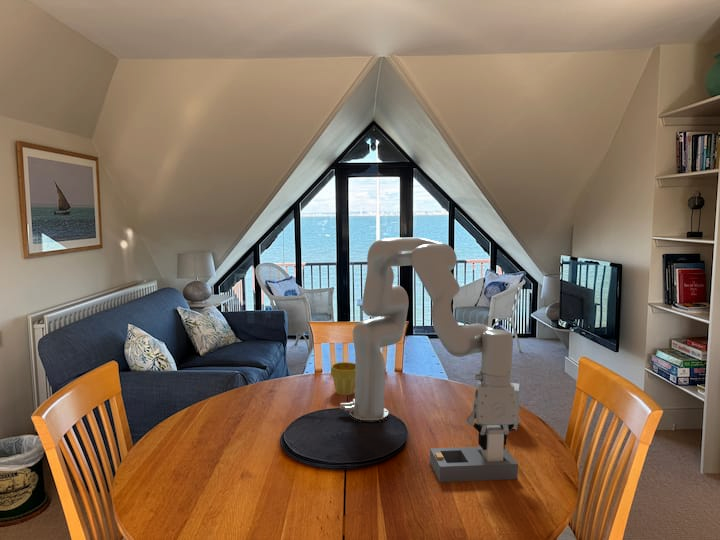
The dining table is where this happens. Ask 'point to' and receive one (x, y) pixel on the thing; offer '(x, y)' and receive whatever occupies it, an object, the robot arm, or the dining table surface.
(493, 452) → the plug
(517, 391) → the supplement box
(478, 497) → the dining table surface
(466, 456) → the power strip
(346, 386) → the plant pot
